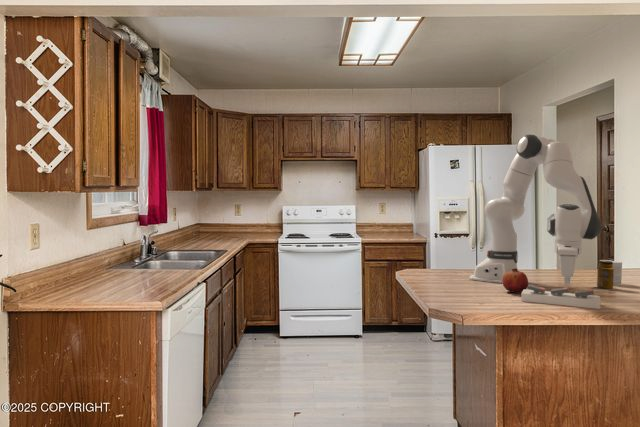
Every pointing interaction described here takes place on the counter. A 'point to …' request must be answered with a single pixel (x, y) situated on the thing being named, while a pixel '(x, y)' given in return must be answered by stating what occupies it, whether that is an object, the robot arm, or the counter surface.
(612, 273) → the condiment
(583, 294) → the rocker right
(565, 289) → the rocker middle
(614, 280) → the small box
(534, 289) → the rocker left
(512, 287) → the fruit
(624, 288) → the counter surface
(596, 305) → the power strip
